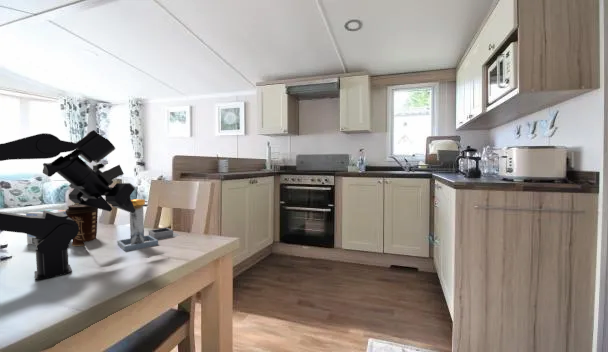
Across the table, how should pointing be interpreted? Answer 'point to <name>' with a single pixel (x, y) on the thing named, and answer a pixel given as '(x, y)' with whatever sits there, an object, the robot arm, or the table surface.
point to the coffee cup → (83, 223)
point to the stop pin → (137, 222)
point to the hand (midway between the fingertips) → (122, 211)
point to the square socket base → (162, 233)
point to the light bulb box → (39, 213)
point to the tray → (136, 246)
